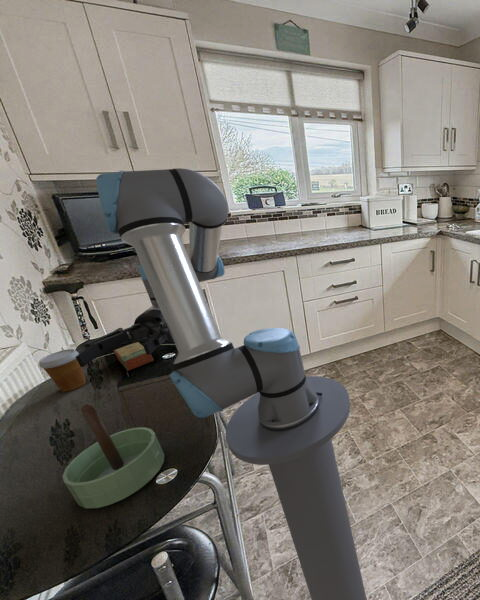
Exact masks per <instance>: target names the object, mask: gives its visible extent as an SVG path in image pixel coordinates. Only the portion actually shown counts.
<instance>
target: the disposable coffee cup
mask: <svg viewBox="0 0 480 600" xmlns="http://www.w3.org/2000/svg"><path fill="white" fill-rule="evenodd" d="M79 354H80V353H79V351H77V349H74V348H68V349H62V350H58V351H55V352H53V353H50V354H48V355H46V356H44V357H42V358H40V359H39V362H38V363H39V364H38V366H39V367H40V368H41V369H43V370H44V372H45V373H46V374H47V375H48V376H49V378H51V380H52V381H53V382H54V383H55V385H56V387H58V388H59V390H60V391H61V392H70V391H73V390H76V389H79V388H80V387H82V386H84V385H85V384H86V383H87V379H86V377H85V374H84V373H85V372H84V370H83V367H80V365H79V363H78V361H77V359H76V356H77V355H79ZM83 381H84V382H83Z"/></svg>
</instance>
